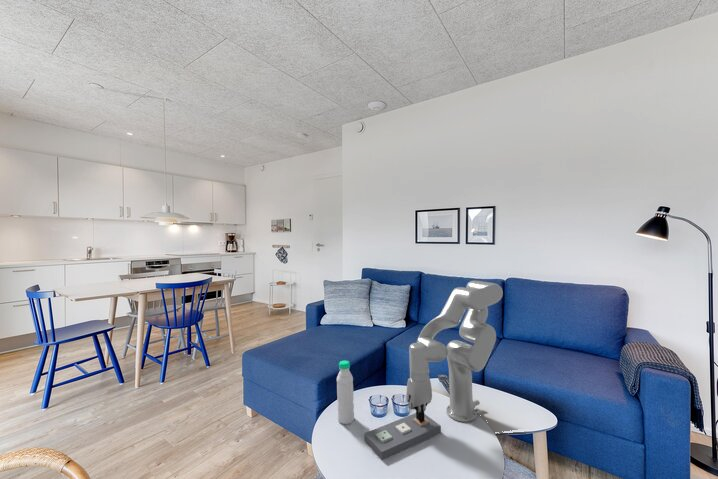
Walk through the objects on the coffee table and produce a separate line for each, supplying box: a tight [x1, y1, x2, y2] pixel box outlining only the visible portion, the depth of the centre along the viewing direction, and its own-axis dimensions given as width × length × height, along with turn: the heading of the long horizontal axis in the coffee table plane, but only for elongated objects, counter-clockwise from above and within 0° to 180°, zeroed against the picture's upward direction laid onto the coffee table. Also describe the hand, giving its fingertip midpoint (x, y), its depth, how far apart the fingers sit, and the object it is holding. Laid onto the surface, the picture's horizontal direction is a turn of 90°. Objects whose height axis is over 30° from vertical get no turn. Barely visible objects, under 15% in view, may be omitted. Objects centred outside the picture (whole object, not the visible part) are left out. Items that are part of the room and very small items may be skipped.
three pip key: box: [413, 418, 429, 427], centre depth 122 cm, size 4×4×4 cm
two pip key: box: [376, 430, 392, 444], centre depth 113 cm, size 4×4×4 cm
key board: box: [364, 412, 442, 461], centre depth 117 cm, size 28×12×3 cm, turn 119°
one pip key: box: [395, 423, 411, 435], centre depth 117 cm, size 4×4×4 cm
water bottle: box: [336, 360, 355, 425], centre depth 130 cm, size 7×7×25 cm
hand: (420, 420), depth 121 cm, fingers closed
